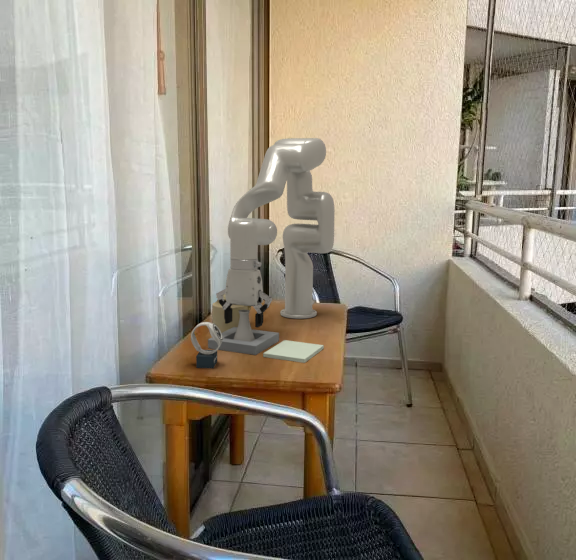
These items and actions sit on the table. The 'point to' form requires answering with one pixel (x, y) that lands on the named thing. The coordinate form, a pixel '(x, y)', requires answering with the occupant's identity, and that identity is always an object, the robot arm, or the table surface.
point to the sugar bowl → (219, 315)
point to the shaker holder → (245, 342)
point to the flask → (244, 327)
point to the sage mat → (293, 351)
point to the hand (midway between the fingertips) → (243, 324)
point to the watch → (207, 356)
